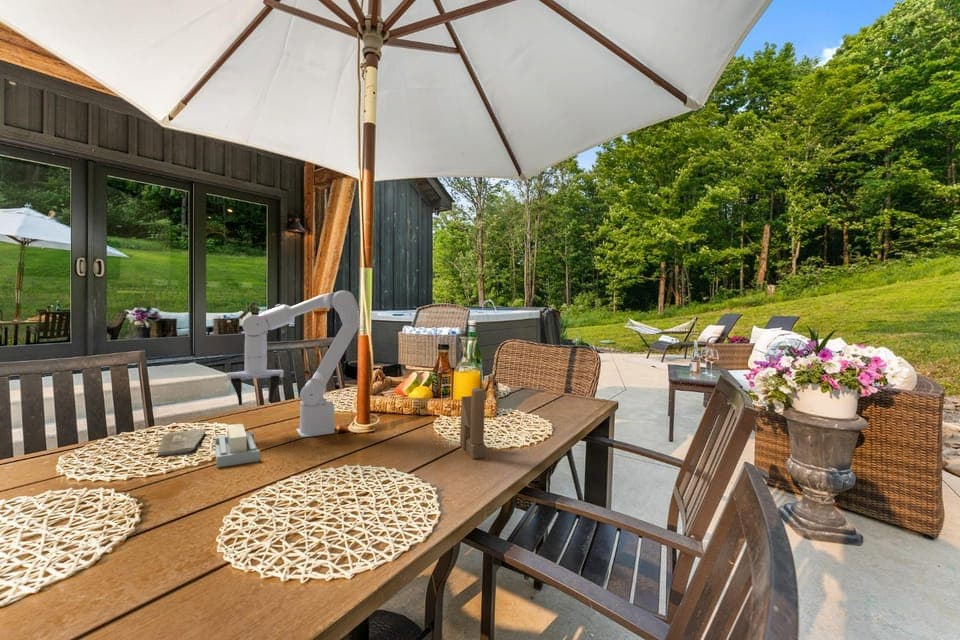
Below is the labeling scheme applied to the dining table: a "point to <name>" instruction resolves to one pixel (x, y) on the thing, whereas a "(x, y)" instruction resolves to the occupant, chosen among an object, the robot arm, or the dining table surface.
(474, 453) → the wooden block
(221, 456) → the tray
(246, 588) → the dining table surface
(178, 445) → the stone
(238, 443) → the clay bar
